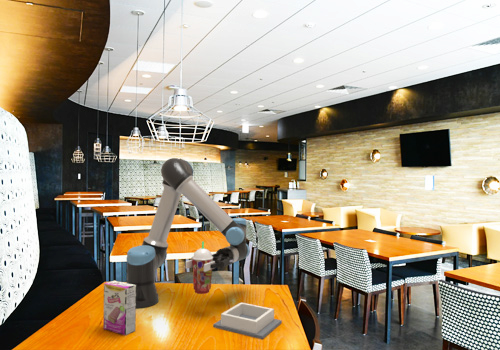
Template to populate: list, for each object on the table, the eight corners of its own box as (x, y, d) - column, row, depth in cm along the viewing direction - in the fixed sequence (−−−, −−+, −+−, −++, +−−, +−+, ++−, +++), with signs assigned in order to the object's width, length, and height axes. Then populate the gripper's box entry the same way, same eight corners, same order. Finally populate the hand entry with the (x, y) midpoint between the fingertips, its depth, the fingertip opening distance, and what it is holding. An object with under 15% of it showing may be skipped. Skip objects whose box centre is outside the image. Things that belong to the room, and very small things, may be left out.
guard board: (213, 327, 132) (213, 313, 132) (235, 313, 146) (235, 300, 147) (262, 339, 123) (262, 324, 123) (281, 323, 137) (281, 309, 137)
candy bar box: (102, 329, 129) (103, 283, 129) (113, 324, 133) (114, 279, 134) (125, 336, 124) (126, 288, 124) (136, 331, 128) (136, 284, 128)
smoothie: (208, 296, 140) (209, 243, 140) (188, 294, 142) (189, 242, 142) (215, 289, 148) (216, 240, 148) (195, 288, 150) (196, 239, 150)
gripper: (247, 267, 156) (217, 280, 136) (207, 261, 166) (174, 272, 146) (247, 250, 156) (218, 260, 136) (207, 245, 166) (174, 253, 146)
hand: (195, 266), depth 141 cm, fingers closed on smoothie, 8 cm apart
